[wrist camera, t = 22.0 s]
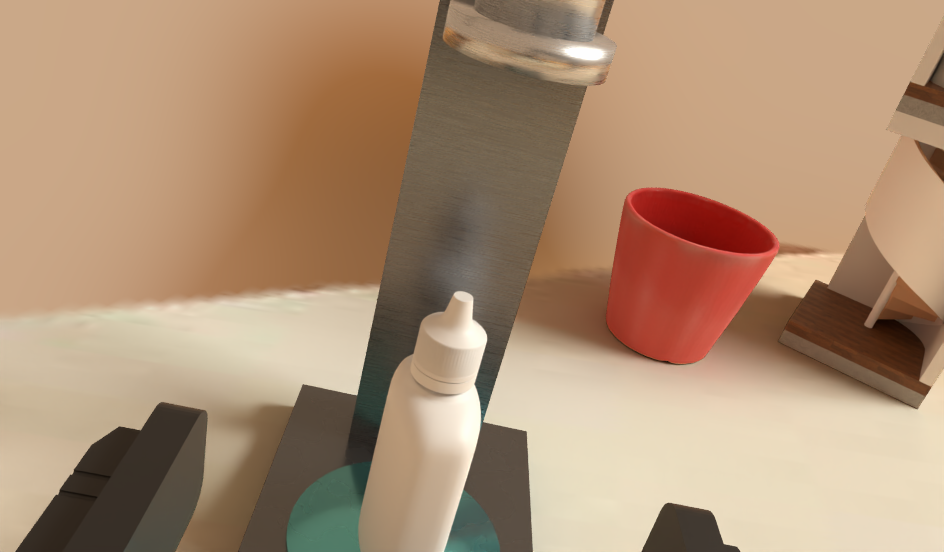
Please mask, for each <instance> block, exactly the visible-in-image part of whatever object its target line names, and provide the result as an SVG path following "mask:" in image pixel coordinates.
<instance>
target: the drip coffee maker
mask: <svg viewBox="0 0 944 552" xmlns="http://www.w3.org/2000/svg"><path fill="white" fill-rule="evenodd" d="M886 130H889V131H891V132H894V133H897V134H900V135H901V137H900V139H899V141H898V143H897V145H896V146H895V148H894V150H893V152H892V154H891V156H890V158H889V160H888V162H887V164H886V166H885V168H884V169H883V171H882V173H881V175H880V177H879V179H878V181H877V183H876V185H875V187H874V189H873V191H872V192H871V194H870V196H869V198H868V201H867V203H866V208H865V217H864V218H863V220H862V222H861V224H860V226H859V228H858V230H857V232H856V234H855V236H854V238H853V239H852V241H851V243H850V245H849V247H848V249H847V251H846V253H845V255H844V256H843V258H842V260H841V262H840V264H839V266H838V268H837V270H836V272H835V274H834V276H833V277H832V279H831V281H830V283H829V285H827V284H825V283H823V282H820V281H818V280H815V282H814V283H813V285H812V286H811V288H810V289H809V291H808V292H807V294H806V295H805V297H804V298H803V300H802V301H801V303H800V304H799V306H798V307H797V309H796V310H795V312H794V313H793V315H792V316H791V318H790V319H789V321H788V323H787V325H786V327H785V329H784V331H783V333H782V335H781V337H780V339H779V341H778V342H780V343H782V344H784V345H786V346H788V347H790V348H792V349H794V350H797V351H799V352H801V353H803V354H805V355H807V356H809V357H811V358H813V359H815V360H817V361H819V362H821V363H823V364H826V365H828V366H830V367H832V368H834V369H836V370H838V371H840V372H842V373H844V374H846V375H848V376H850V377H852V378H855V379H857V380H859V381H861V382H863V383H865V384H867V385H869V386H871V387H873V388H875V389H877V390H879V391H881V392H884V393H886V394H888V395H890V396H892V397H894V398H896V399H898V400H900V401H902V402H904V403H906V404H908V405H910V406H913V407H915V408H917V409H918V408H919V406H920V404H921V403H922V401H923V400H924V398H925V397H926V395H927V394H928V392H929V390H930V389H931V387H932V386H933V384H934V383H935V381H936V380H937V378H938V376H939V375H940V373H941V372H942V370H943V369H944V17H943V19H942V20H941V22H940V24H939V26H938V28H937V30H936V32H935V34H934V36H933V38H932V40H931V42H930V44H929V46H928V48H927V50H926V52H925V54H924V56H923V58H922V60H921V62H920V64H919V66H918V68H917V70H916V72H915V74H914V75H913V77H912V79H911V81H910V83H909V85H908V87H907V89H906V91H905V93H904V95H903V97H902V99H901V101H900V103H899V105H898V107H897V109H896V111H895V113H894V115H893V117H892V119H891V121H890V123H889V125H888V127H887V128H886Z"/></svg>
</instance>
